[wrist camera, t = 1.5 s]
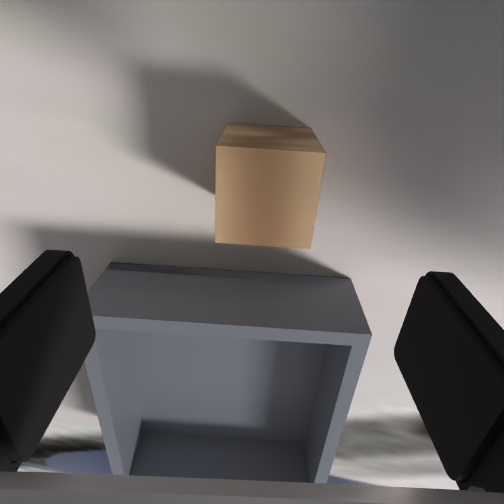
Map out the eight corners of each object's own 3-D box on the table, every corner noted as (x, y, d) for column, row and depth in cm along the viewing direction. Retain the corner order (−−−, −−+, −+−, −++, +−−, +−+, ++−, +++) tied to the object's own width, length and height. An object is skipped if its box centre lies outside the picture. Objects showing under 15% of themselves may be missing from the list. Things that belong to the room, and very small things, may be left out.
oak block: (310, 128, 21) (326, 153, 16) (300, 205, 24) (310, 248, 18) (227, 122, 21) (215, 145, 16) (225, 200, 24) (215, 242, 18)
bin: (350, 278, 26) (372, 334, 21) (311, 438, 36) (319, 504, 31) (110, 262, 26) (72, 314, 21) (137, 427, 36) (116, 490, 31)
